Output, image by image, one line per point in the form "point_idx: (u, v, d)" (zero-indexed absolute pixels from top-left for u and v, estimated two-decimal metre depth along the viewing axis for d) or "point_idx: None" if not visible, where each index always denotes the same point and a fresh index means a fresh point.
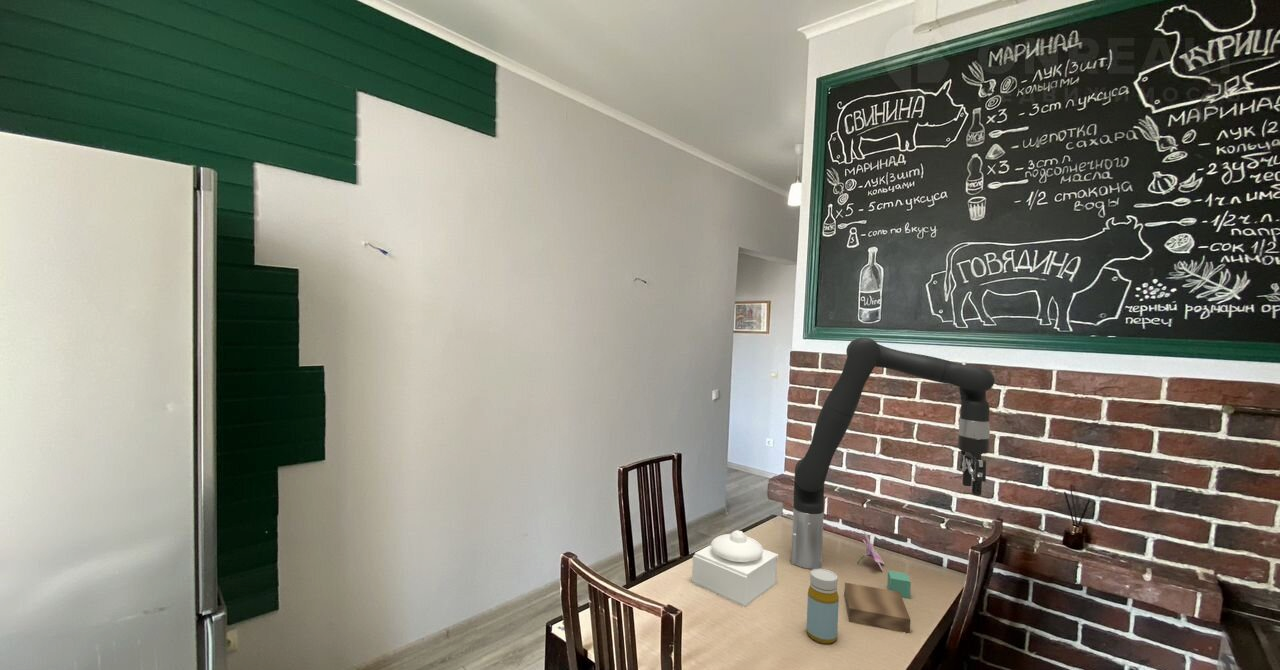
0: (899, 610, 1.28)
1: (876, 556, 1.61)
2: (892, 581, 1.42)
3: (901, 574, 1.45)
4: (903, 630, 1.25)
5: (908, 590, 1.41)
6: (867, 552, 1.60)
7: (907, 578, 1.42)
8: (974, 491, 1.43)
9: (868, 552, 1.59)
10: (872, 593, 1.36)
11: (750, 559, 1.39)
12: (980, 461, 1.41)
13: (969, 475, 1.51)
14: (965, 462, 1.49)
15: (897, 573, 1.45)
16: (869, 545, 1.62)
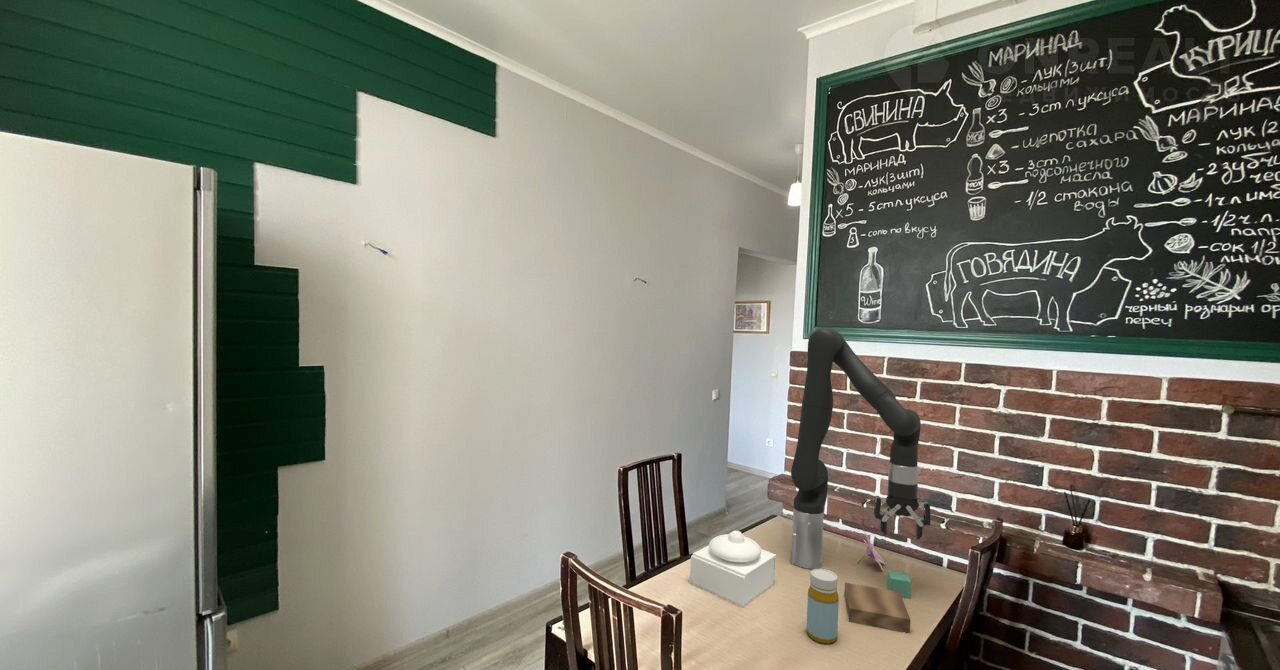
0: (899, 610, 1.28)
1: (876, 556, 1.61)
2: (892, 581, 1.42)
3: (901, 574, 1.45)
4: (903, 630, 1.25)
5: (908, 590, 1.41)
6: (867, 552, 1.60)
7: (907, 578, 1.42)
8: (920, 536, 1.42)
9: (869, 552, 1.59)
10: (872, 593, 1.36)
11: (748, 559, 1.38)
12: (928, 504, 1.41)
13: None
14: (896, 510, 1.43)
15: (897, 573, 1.45)
16: (869, 545, 1.62)
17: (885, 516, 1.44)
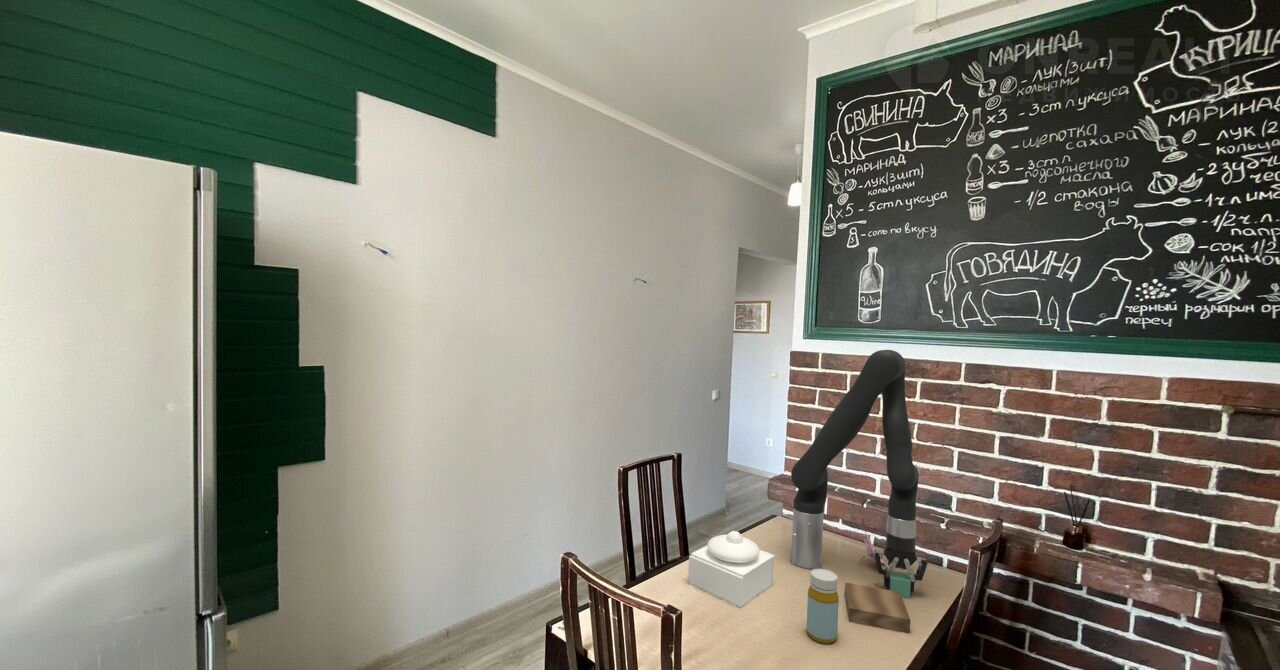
0: (899, 610, 1.28)
1: None
2: (892, 581, 1.42)
3: (901, 574, 1.45)
4: (903, 630, 1.25)
5: (908, 590, 1.41)
6: (868, 552, 1.60)
7: (907, 578, 1.42)
8: (912, 591, 1.42)
9: (869, 552, 1.59)
10: (872, 593, 1.36)
11: (746, 560, 1.38)
12: None
13: None
14: None
15: (897, 573, 1.45)
16: (870, 545, 1.62)
17: (887, 571, 1.44)
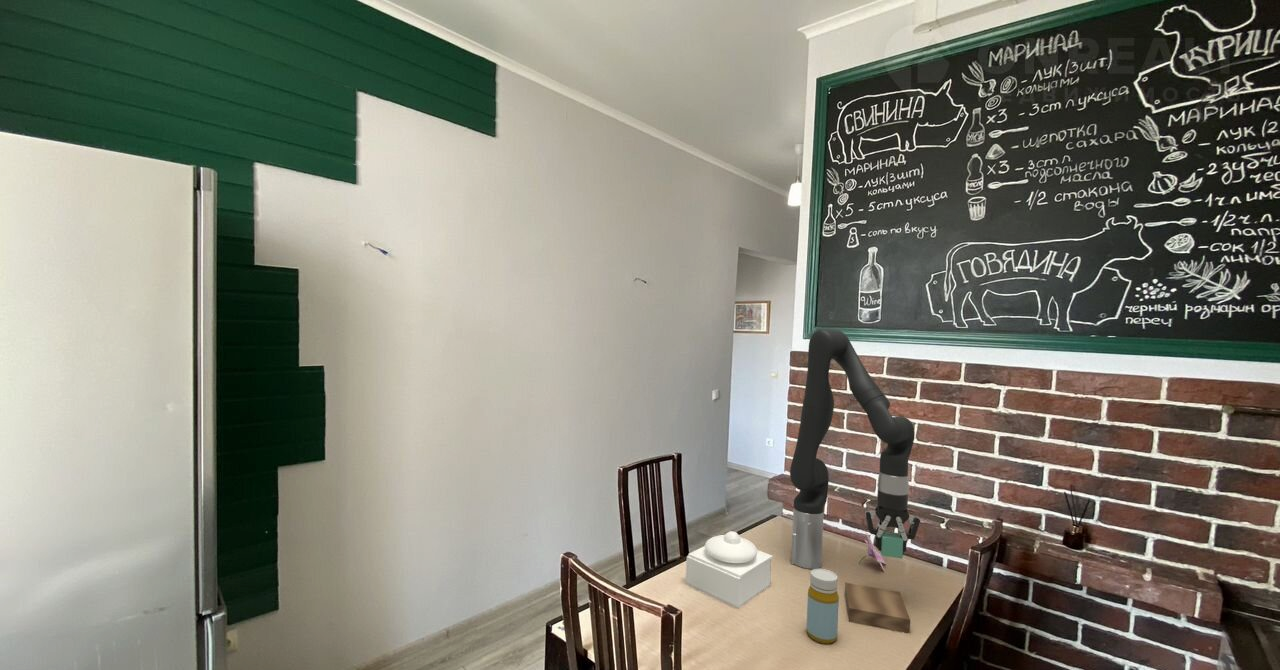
0: (899, 610, 1.28)
1: (877, 556, 1.61)
2: (884, 540, 1.36)
3: (892, 534, 1.39)
4: (903, 630, 1.25)
5: (900, 549, 1.35)
6: (869, 552, 1.60)
7: (899, 537, 1.37)
8: (904, 550, 1.37)
9: (870, 552, 1.59)
10: (872, 593, 1.36)
11: (744, 560, 1.38)
12: None
13: None
14: (888, 522, 1.37)
15: (889, 533, 1.40)
16: (870, 545, 1.62)
17: (879, 531, 1.38)
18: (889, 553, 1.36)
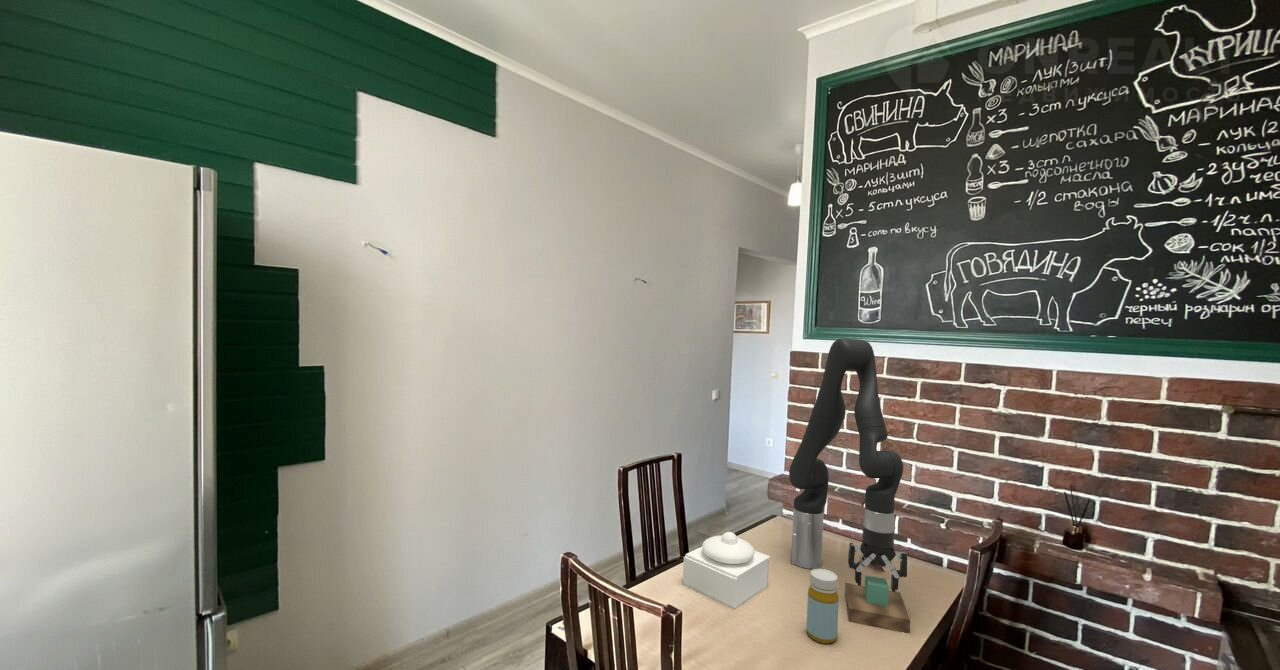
0: (899, 611, 1.28)
1: None
2: (869, 587, 1.31)
3: (878, 580, 1.34)
4: (903, 630, 1.25)
5: (886, 597, 1.30)
6: None
7: (885, 584, 1.31)
8: (896, 588, 1.31)
9: None
10: None
11: (741, 561, 1.37)
12: None
13: None
14: (871, 559, 1.32)
15: (875, 578, 1.34)
16: None
17: (859, 566, 1.33)
18: (874, 600, 1.31)
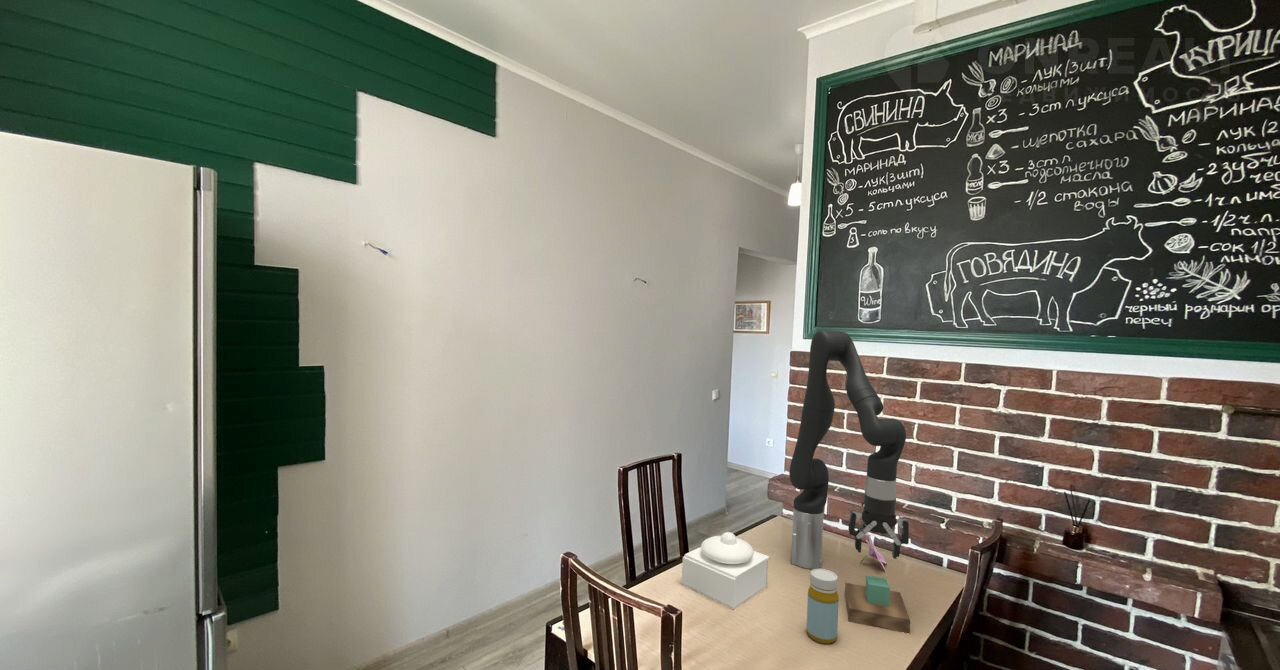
0: (899, 611, 1.28)
1: (878, 556, 1.61)
2: (870, 587, 1.31)
3: (879, 580, 1.33)
4: (903, 630, 1.25)
5: (887, 597, 1.30)
6: (870, 552, 1.60)
7: (886, 584, 1.31)
8: (897, 555, 1.31)
9: (871, 552, 1.59)
10: None
11: (739, 561, 1.37)
12: (907, 521, 1.30)
13: None
14: (872, 527, 1.32)
15: (876, 578, 1.34)
16: (871, 545, 1.62)
17: (860, 533, 1.33)
18: (875, 601, 1.31)
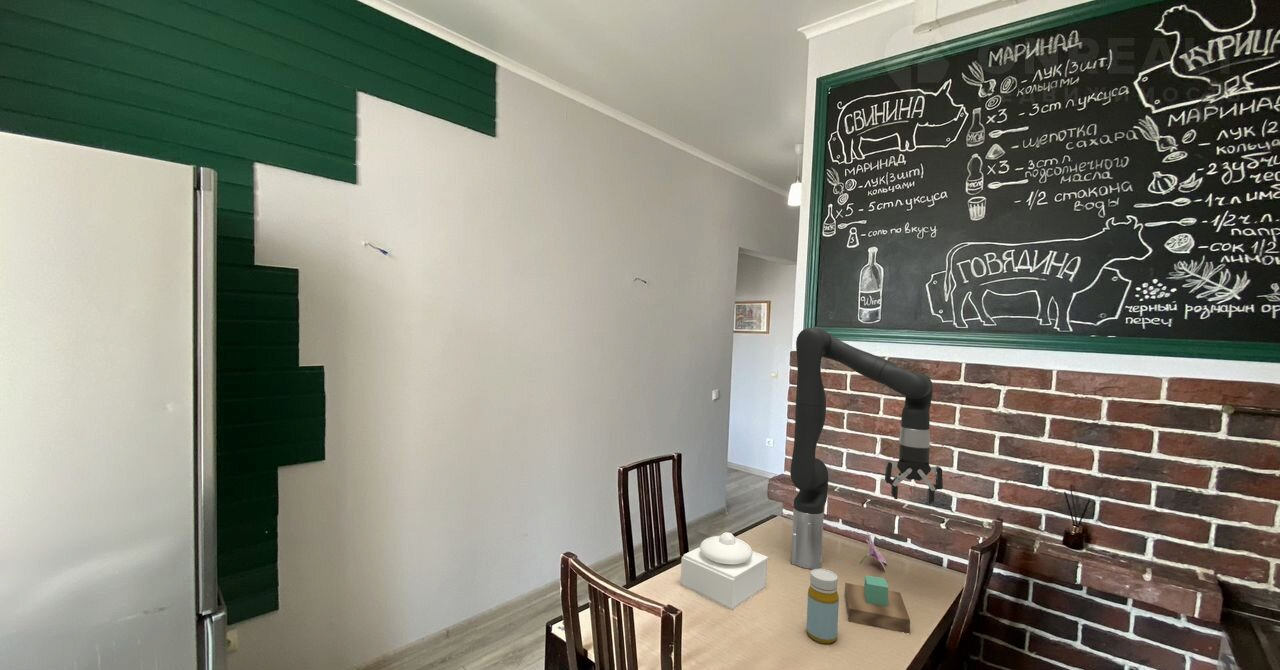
0: (899, 611, 1.28)
1: (879, 556, 1.61)
2: (868, 587, 1.31)
3: (878, 580, 1.34)
4: (903, 630, 1.25)
5: (886, 597, 1.30)
6: (870, 552, 1.60)
7: (885, 584, 1.31)
8: (932, 500, 1.40)
9: (871, 552, 1.59)
10: None
11: (738, 561, 1.37)
12: (940, 468, 1.40)
13: None
14: (907, 474, 1.41)
15: (874, 578, 1.34)
16: (872, 545, 1.62)
17: (896, 480, 1.42)
18: (874, 600, 1.31)
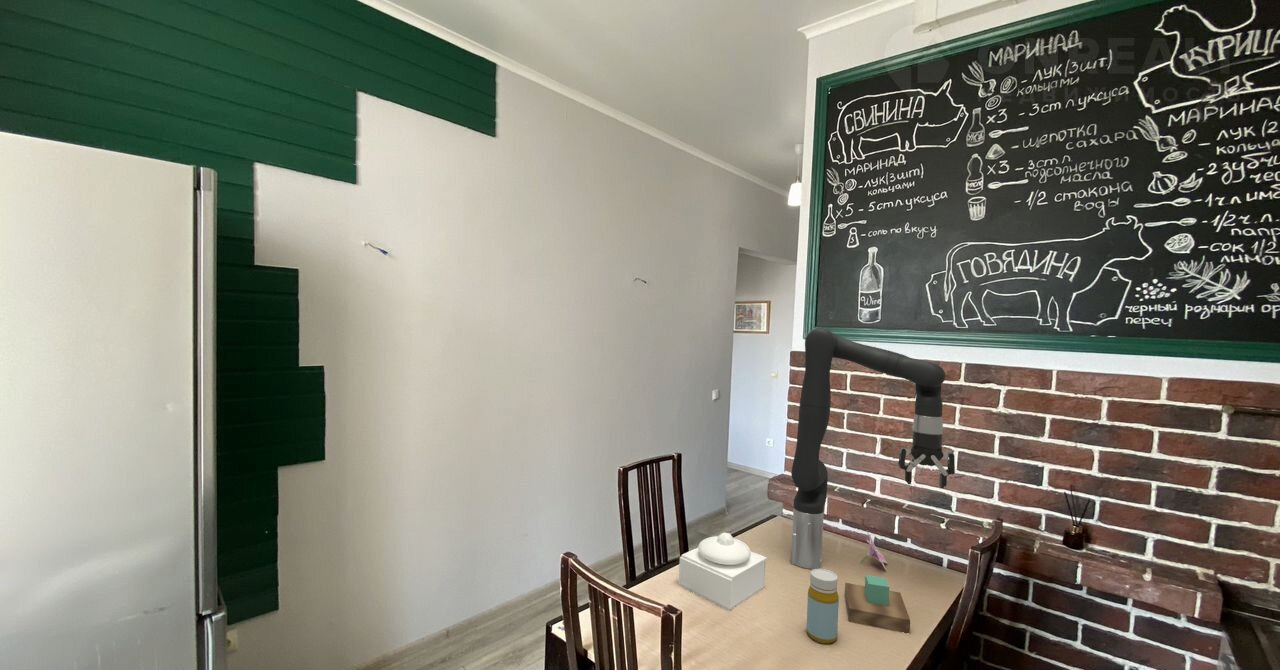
0: (899, 611, 1.28)
1: (879, 556, 1.61)
2: (869, 587, 1.31)
3: (879, 579, 1.34)
4: (903, 630, 1.24)
5: (887, 596, 1.30)
6: (870, 552, 1.60)
7: (886, 583, 1.32)
8: (945, 485, 1.45)
9: (872, 552, 1.59)
10: None
11: (736, 562, 1.36)
12: (953, 454, 1.45)
13: None
14: None
15: (875, 578, 1.35)
16: (872, 545, 1.63)
17: (910, 466, 1.47)
18: (875, 600, 1.31)
